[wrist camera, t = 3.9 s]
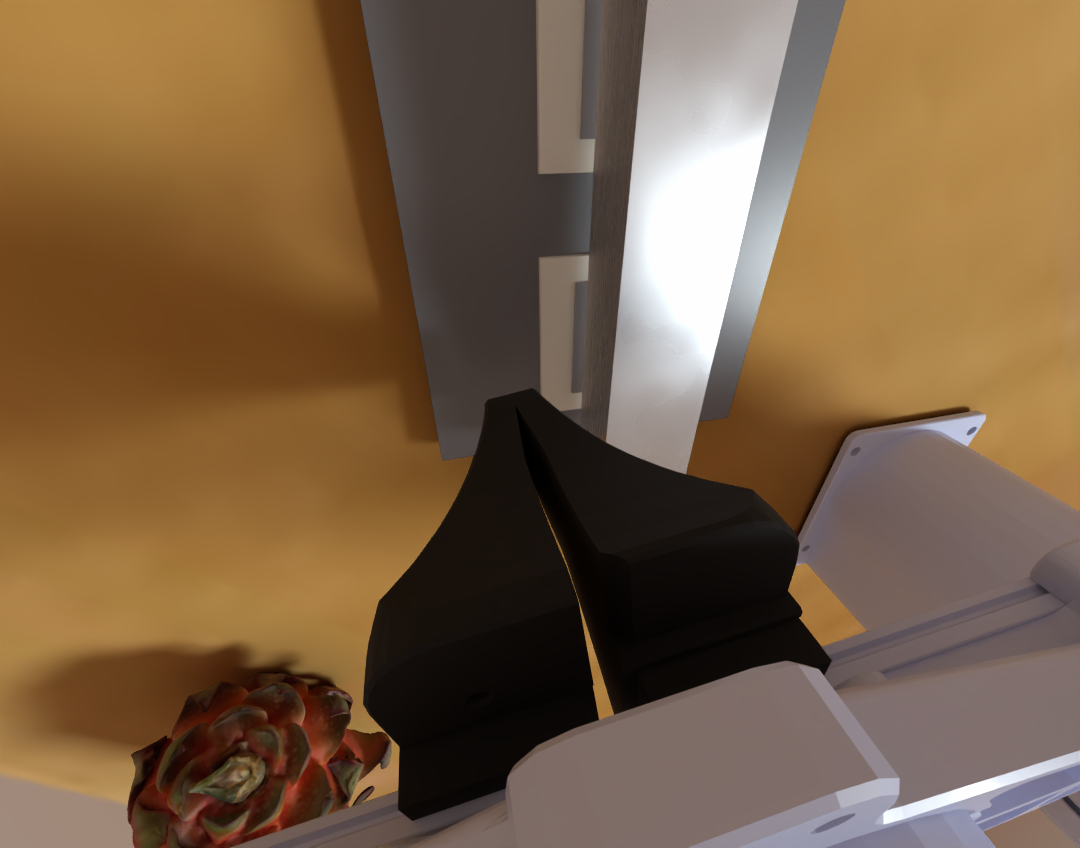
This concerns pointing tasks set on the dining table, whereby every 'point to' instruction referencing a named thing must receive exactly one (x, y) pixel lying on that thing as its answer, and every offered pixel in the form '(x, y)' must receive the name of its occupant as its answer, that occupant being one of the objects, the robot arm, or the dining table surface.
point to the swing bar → (671, 206)
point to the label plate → (537, 192)
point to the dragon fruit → (250, 764)
